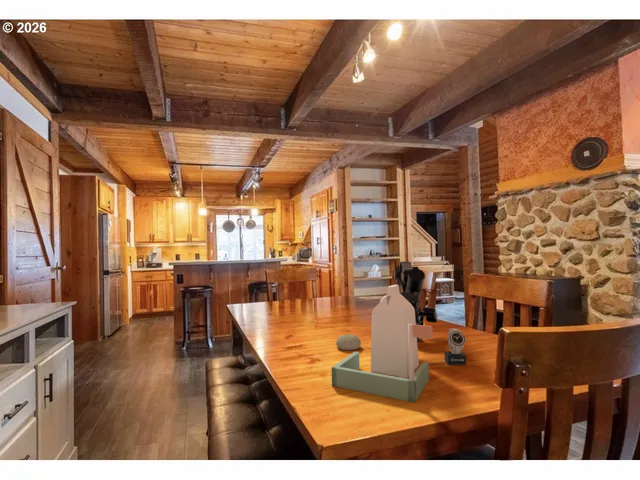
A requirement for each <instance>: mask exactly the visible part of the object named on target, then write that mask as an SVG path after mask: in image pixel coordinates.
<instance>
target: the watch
mask: <svg viewBox="0 0 640 480" xmlns="http://www.w3.org/2000/svg"><path fill="white" fill-rule="evenodd" d="M447 336H448V337H447V343H448V348H449V350H445V351H444V361H445V363H446V364H447V365H448V366H467V355H466V354H465V353H464V352H463V349H464V345H465V342H466V341H467V337H466V336H465V335H464V334H463V332H462V331H461V330H460V329H458V328H449V329H448V331H447Z"/></svg>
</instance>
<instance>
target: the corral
mask: <svg viewBox="0 0 640 480" xmlns="http://www.w3.org/2000/svg"><path fill="white" fill-rule="evenodd" d="M433 335H434V334H433V325H431V326H430V325H413V324H408V343H409V377H408V378H404V377H399V376H394V375H388V374H383V373H378V372H373V371H366V370H365V371H364V370H359V369H360V368H361V367H360V352H359V351H354V352H352V353H350V355H348V356H346V357H345V358H344V359H342V360H340V361H338V362H337V363H336V364H334V365H333V366H332V367H331V386H333V387H337V388H342V389H346V390H352V391H356V392H357V391H358V392H361V393H366V394H371V395H375V396H381V397H386V398H389V399H390V398H391V399H395V400H398V401H399V400H400V401H405V402H409V403H416V401H417V399H418V398H419V397H420V394H422V392H423V390H424V389H425V387H426V385H427V384H428V382H429V380H430V374H429V372H430V371H429V367H430V366H429V362H428V361H422V363H421V364H419V366H418V367H417V368H416V369H415V370H414V345H413V337H418V338H422V339H428V340H433V337H434V336H433Z"/></svg>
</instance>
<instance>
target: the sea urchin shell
mask: <svg viewBox="0 0 640 480" xmlns="http://www.w3.org/2000/svg"><path fill="white" fill-rule="evenodd" d="M335 344H336V347H337V348H338V349H340V350H342V351H355V350H358V349H359V348H360V347H361V346H362V343H361V339H360V337H359V336H357V335H354V334H347V333H346V334H342V335H340V336H338V337H337V338H336V340H335Z"/></svg>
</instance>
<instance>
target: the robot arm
mask: <svg viewBox="0 0 640 480" xmlns="http://www.w3.org/2000/svg"><path fill="white" fill-rule="evenodd" d="M393 277H394V278H393V279H394V281H395V283H396V284H395V285H399V287H400V290H401V292H400V291H399V293H400V294H401V295H402V296H403V297H404V298H405V299H406V300H407V301H408V302H410V303H411V305H412V306H413V307H414V310H415V321H416V325H423V326H425V325H424V321H425V320H426V322H428V323H432V324H433V323H437V322H438V314H437V309H436V308H435V307H432V306H424V307H423V309H421V297H422V292H423V287H424V283H425V279H426V274H425V272H424V271H423V269H420V268H419V266H413V265H412V262H411V261H400V262H399V264H398V265H397V266H396V267H395V268H394V273H393ZM421 341H423V338H418V337H417V343H418V342H421Z"/></svg>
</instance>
